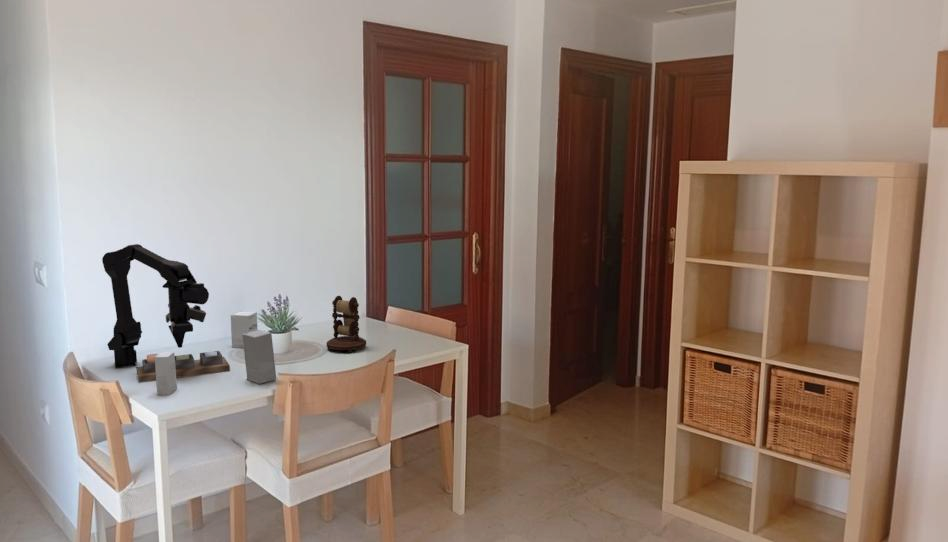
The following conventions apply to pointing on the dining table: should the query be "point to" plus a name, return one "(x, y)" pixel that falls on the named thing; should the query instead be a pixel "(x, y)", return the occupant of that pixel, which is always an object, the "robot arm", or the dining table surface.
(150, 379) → the button panel
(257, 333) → the skincare box
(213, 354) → the slate button
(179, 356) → the sage button
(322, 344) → the dining table surface
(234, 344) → the supplement box
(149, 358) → the terracotta button
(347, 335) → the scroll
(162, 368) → the skincare box
